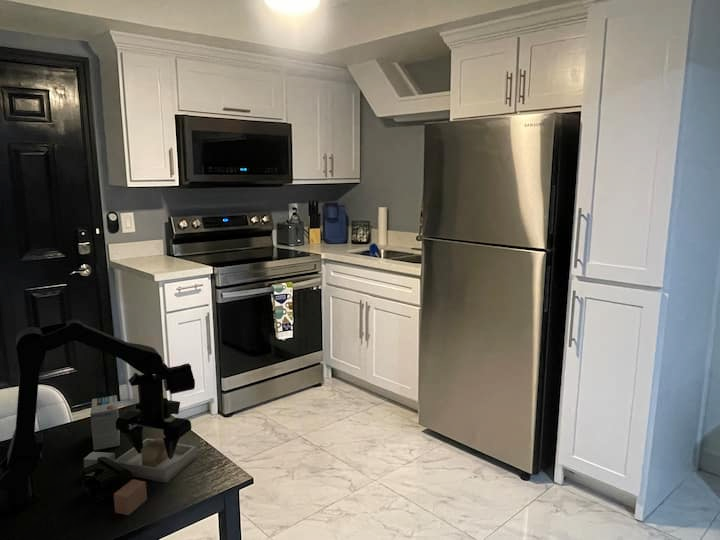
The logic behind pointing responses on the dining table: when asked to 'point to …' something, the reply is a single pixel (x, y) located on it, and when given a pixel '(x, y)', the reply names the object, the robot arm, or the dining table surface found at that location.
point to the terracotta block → (130, 497)
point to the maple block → (154, 453)
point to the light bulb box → (104, 422)
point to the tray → (164, 469)
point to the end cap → (105, 479)
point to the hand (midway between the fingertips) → (155, 455)
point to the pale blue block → (93, 459)
